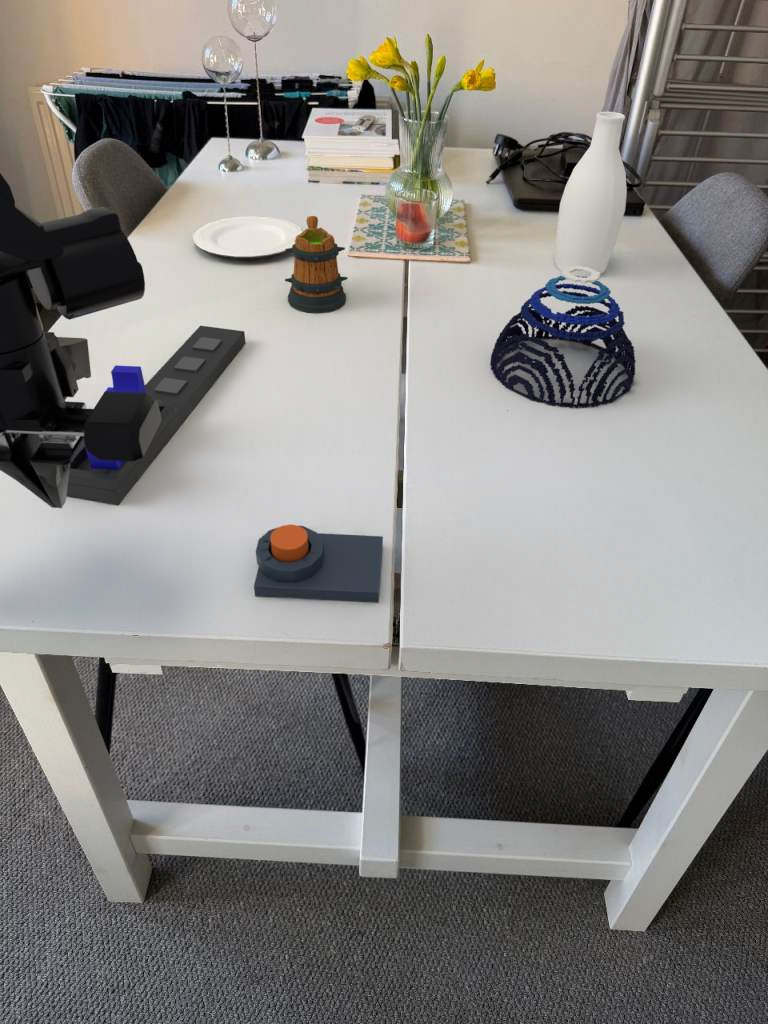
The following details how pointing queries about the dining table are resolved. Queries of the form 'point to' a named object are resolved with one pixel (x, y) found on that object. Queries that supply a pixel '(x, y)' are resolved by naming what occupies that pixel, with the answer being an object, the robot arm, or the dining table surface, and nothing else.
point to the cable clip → (122, 382)
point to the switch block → (323, 569)
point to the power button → (289, 543)
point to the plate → (246, 237)
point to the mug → (315, 271)
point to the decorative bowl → (586, 338)
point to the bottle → (593, 201)
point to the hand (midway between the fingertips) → (59, 504)
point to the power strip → (162, 410)
